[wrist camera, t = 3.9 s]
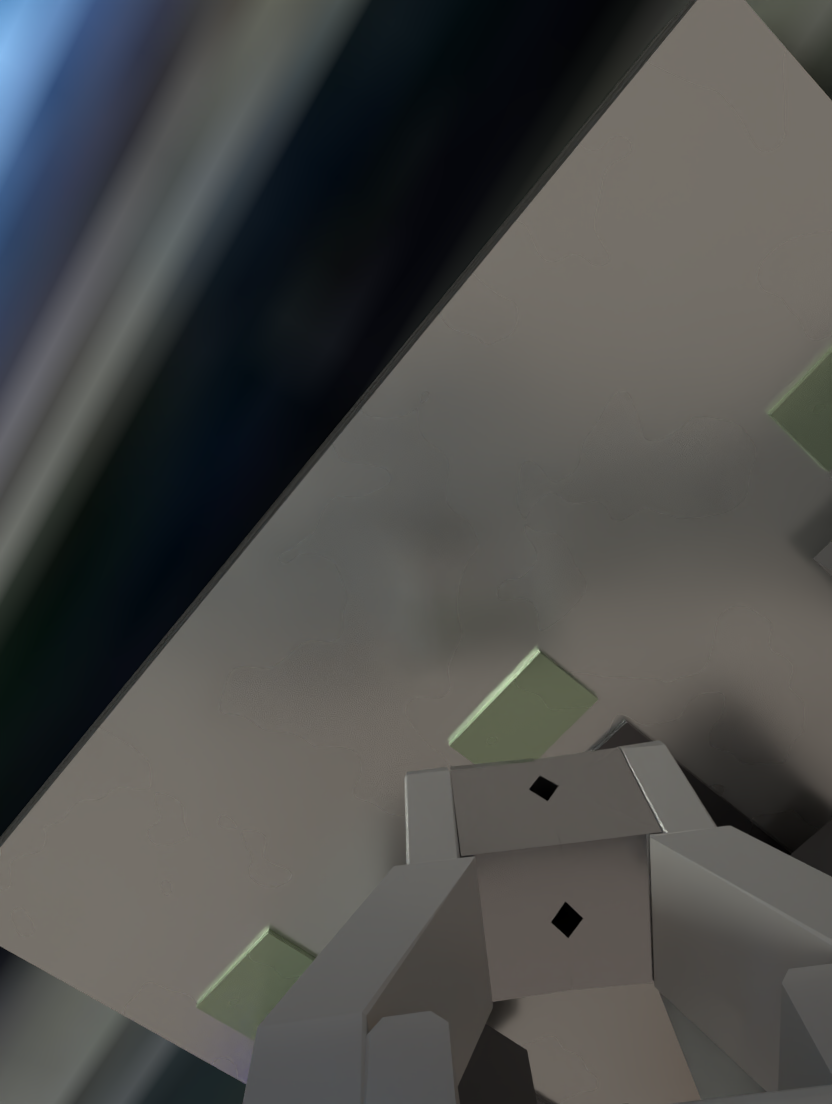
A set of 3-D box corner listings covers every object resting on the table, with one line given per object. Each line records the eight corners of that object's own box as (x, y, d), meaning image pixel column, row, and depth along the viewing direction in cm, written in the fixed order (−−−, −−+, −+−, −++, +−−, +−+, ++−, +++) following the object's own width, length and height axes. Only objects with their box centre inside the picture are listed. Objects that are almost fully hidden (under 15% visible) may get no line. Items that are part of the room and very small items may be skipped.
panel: (782, 1300, 19) (828, 1416, 17) (3, 833, 14) (-59, 919, 12) (1413, 857, 16) (1561, 938, 14) (661, 30, 11) (723, -31, 9)
